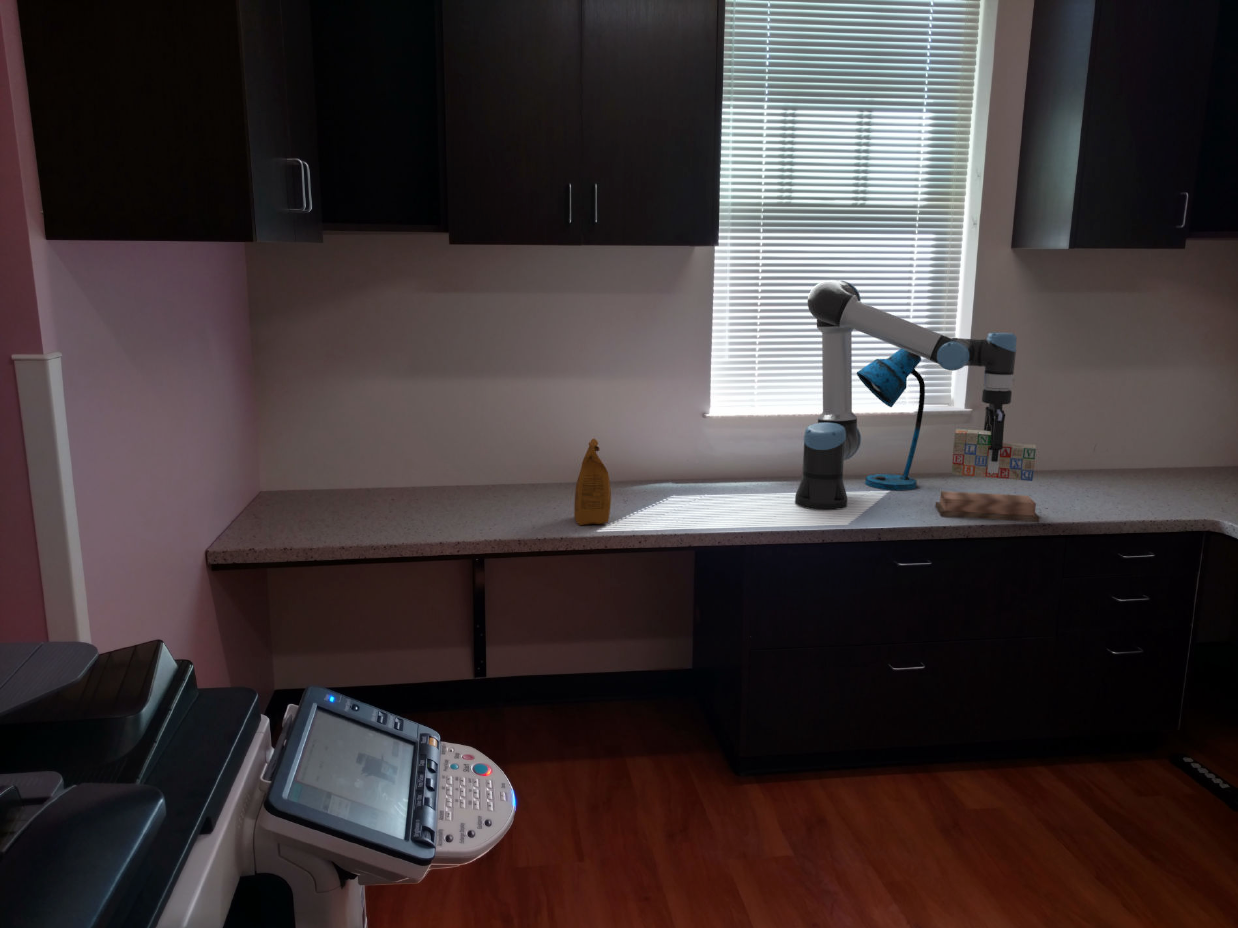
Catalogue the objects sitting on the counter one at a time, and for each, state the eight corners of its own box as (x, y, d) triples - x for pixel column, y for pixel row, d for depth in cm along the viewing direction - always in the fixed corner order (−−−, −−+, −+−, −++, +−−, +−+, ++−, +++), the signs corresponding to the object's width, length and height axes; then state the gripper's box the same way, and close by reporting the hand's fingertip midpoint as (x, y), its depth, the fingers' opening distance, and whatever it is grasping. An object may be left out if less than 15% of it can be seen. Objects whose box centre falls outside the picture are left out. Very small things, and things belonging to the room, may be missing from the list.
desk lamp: (843, 479, 309) (852, 342, 300) (908, 479, 310) (919, 343, 301) (858, 490, 293) (868, 346, 284) (927, 490, 294) (938, 347, 285)
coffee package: (610, 514, 261) (611, 437, 256) (610, 526, 248) (611, 445, 244) (575, 514, 260) (575, 437, 256) (573, 526, 248) (573, 445, 244)
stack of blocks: (1032, 477, 262) (1037, 434, 259) (1032, 481, 256) (1037, 437, 254) (952, 469, 271) (956, 428, 268) (950, 474, 265) (954, 431, 262)
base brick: (941, 516, 263) (942, 499, 262) (935, 506, 274) (936, 490, 273) (1038, 521, 258) (1040, 504, 257) (1029, 511, 269) (1030, 495, 268)
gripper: (1020, 394, 248) (1011, 477, 253) (1003, 385, 268) (996, 463, 272) (990, 393, 250) (982, 476, 254) (976, 384, 269) (969, 462, 274)
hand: (989, 469), depth 263 cm, fingers closed on stack of blocks, 7 cm apart
